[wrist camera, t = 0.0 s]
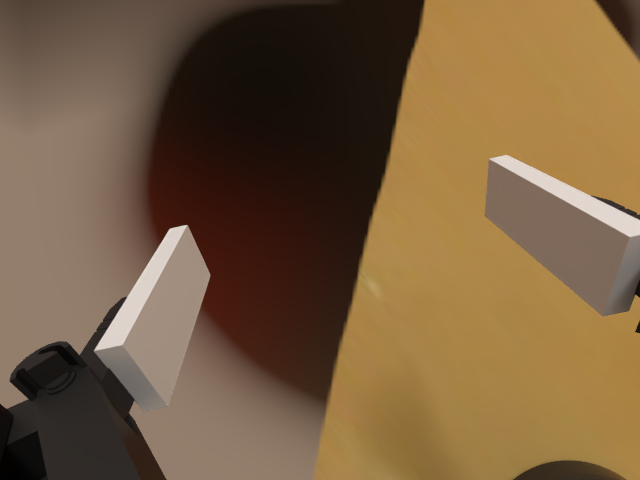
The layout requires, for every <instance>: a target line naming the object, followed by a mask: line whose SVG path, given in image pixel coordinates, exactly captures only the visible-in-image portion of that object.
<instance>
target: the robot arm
mask: <svg viewBox="0 0 640 480" xmlns="http://www.w3.org/2000/svg"><path fill="white" fill-rule="evenodd" d="M485 217H487V218H488V219H489V220H490V221H491V222H492V223H494V224H495V225H496V226H497V227H498V228H500V229H501V230H502V231H503V232H504V233H505V234H507V235H508V236H509V237H510V238H511V239H512V240H514V241H515V242H516V243H517V244H518V245H520V246H521V247H522V248H523V249H524V250H525V251H527V252H528V253H529V254H530V255H531V256H532V257H534V258H535V259H536V260H537V261H538V262H540V263H541V264H542V265H543V266H544V267H545V268H547V269H548V270H549V271H550V272H551V273H552V274H554V275H555V276H556V277H557V278H558V279H559V280H561V281H562V282H563V283H564V284H565V285H567V286H568V287H569V288H570V289H571V290H572V291H574V292H575V293H576V294H577V295H578V296H579V297H581V298H582V299H583V300H584V301H585V302H587V303H588V304H589V305H590V306H591V307H592V308H594V309H595V310H596V311H597V312H598V313H599V314H601V315H602V316H607V315H612V314H617V313H621V312H626V311H629V309H630V307H631V304H632V302H633V299H634V297H635V294H636V295H637V296H638V297H640V215H637V213H636V212H634V211H632V210H629V209H625V207H623V206H621V205H619V204H617V203H615V202H613V201H611V200H607V199H603V198H599V197H595V196H589V195H587V194H585V193H583V192H581V191H579V190H577V189H575V188H573V187H571V186H569V185H567V184H565V183H563V182H561V181H559V180H557V179H555V178H553V177H551V176H549V175H547V174H545V173H543V172H541V171H539V170H537V169H535V168H533V167H530V166H528V165H526V164H524V163H522V162H520V161H518V160H516V159H514V158H512V157H510V156H508V155H504V156H500V157H495V158H491V159H489V166H488V180H487V194H486V207H485ZM209 278H210V273H209V271H208V269H207V267H206V264H205V262H204V260H203V258H202V256H201V254H200V252H199V249H198V247H197V245H196V243H195V241H194V238H193V236H192V234H191V232H190V230H189V228H188V225H185V226H180V227H176V228H172V229H170V230H169V231H168V233H167V235H166V236H165V238H164V239H163V241H162V243H161V244H160V246H159V247H158V249H157V251H156V252H155V254H154V255H153V257H152V259H151V260H150V262H149V263H148V265H147V267H146V268H145V270H144V271H143V273H142V275H141V276H140V278H139V280H138V281H137V283H136V284H135V286H134V287H133V289H132V291H131V292H130V294H129V295H128V297H124V298H122V299H121V300H120V301H118V302H117V303H116V304H115V305H114V306H113V307H112V308H111V309H110V310H109V312H108V313H107V315H106V316H105V318H104V319H103V322H102V323H101V324H100V325H99V327H98V328H97V332H95V333H94V334H93V336H92V337H91V339H90V340H89V342H88V343H87V345H86V346H85V348H84V349H83V351H82V353H81V354H80V355H78V353H77V352H76V351H75V350H74V349H73V348H72V346H71V345H70V344H69V343H67V342H60V341H59V342H56V343H52V344H48V345H46V346H44V347H42V348H40V349H38V350H37V351H35V352H34V353H32V354H31V355H29V356H28V357H26V358H25V359H24V360H23V361H22V362H21V363H20V364H19V365H18V366H17V367H16V368H15V370H14V371H13V373H12V374H11V377H10V382H11V383H12V384H13V385H14V386H15V387H16V388H18V390H20V391H21V392H22V393H23V394H24V395H25V396H26V397H27V398H28V400H26V401H24V402H22V403H19V404H17V405H15V406H13V407H10V408H8V409H6V408H4V407H3V406H2V405H1V404H0V480H166V478H165V476H164V474H163V472H162V471H161V469H160V467H159V465H158V463H157V461H156V460H155V458H154V456H153V454H152V452H151V450H150V448H149V447H148V445H147V443H146V441H145V439H144V437H143V436H142V433H141V432H140V430H139V428H138V426H137V424H136V422H135V420H134V419H133V418H132V416H131V415H130V414H129V411H130V409H131V406H132V404H133V402H134V401H135V402H136V404H137V405H138V406H139V407H140V408H141V410H142V411H143V412H146V411H151V410H156V409H160V408H166V407H168V406H169V402H170V400H171V397H172V393H173V390H174V387H175V384H176V381H177V378H178V374H179V372H180V369H181V365H182V362H183V359H184V356H185V353H186V350H187V346H188V343H189V341H190V337H191V334H192V331H193V328H194V325H195V322H196V319H197V316H198V313H199V309H200V306H201V303H202V300H203V297H204V294H205V291H206V288H207V284H208V281H209ZM635 332H637V333H640V321H639V324H638V326H637V329H636V331H635ZM514 480H626V479H624V478H623V477H621V476H620V475H618V474H616V473H615V472H613V471H611V470H608V469H606V468H604V467H601V466H598V465H595V464H591V463H587V462H581V461H555V462H550V463H545V464H542V465H539V466H536V467H534V468H531V469H529V470H528V471H526V472H524V473H522V474H521V475H519V476H518V477H516V478H515V479H514Z"/></svg>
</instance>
